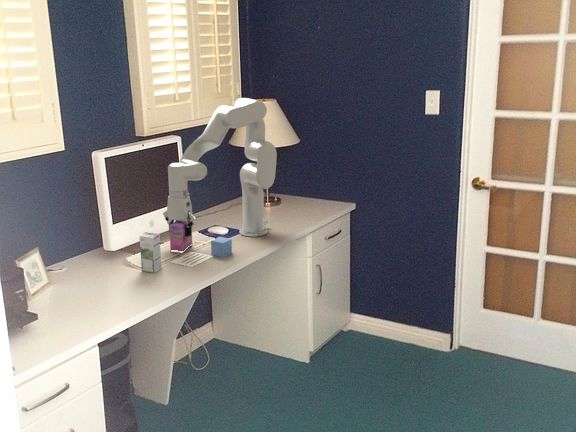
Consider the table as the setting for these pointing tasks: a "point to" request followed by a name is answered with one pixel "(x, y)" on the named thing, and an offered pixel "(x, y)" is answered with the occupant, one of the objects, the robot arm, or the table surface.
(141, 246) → the syrup box
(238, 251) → the table surface
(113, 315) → the table surface
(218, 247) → the blue cube
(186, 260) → the letter
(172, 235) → the box
